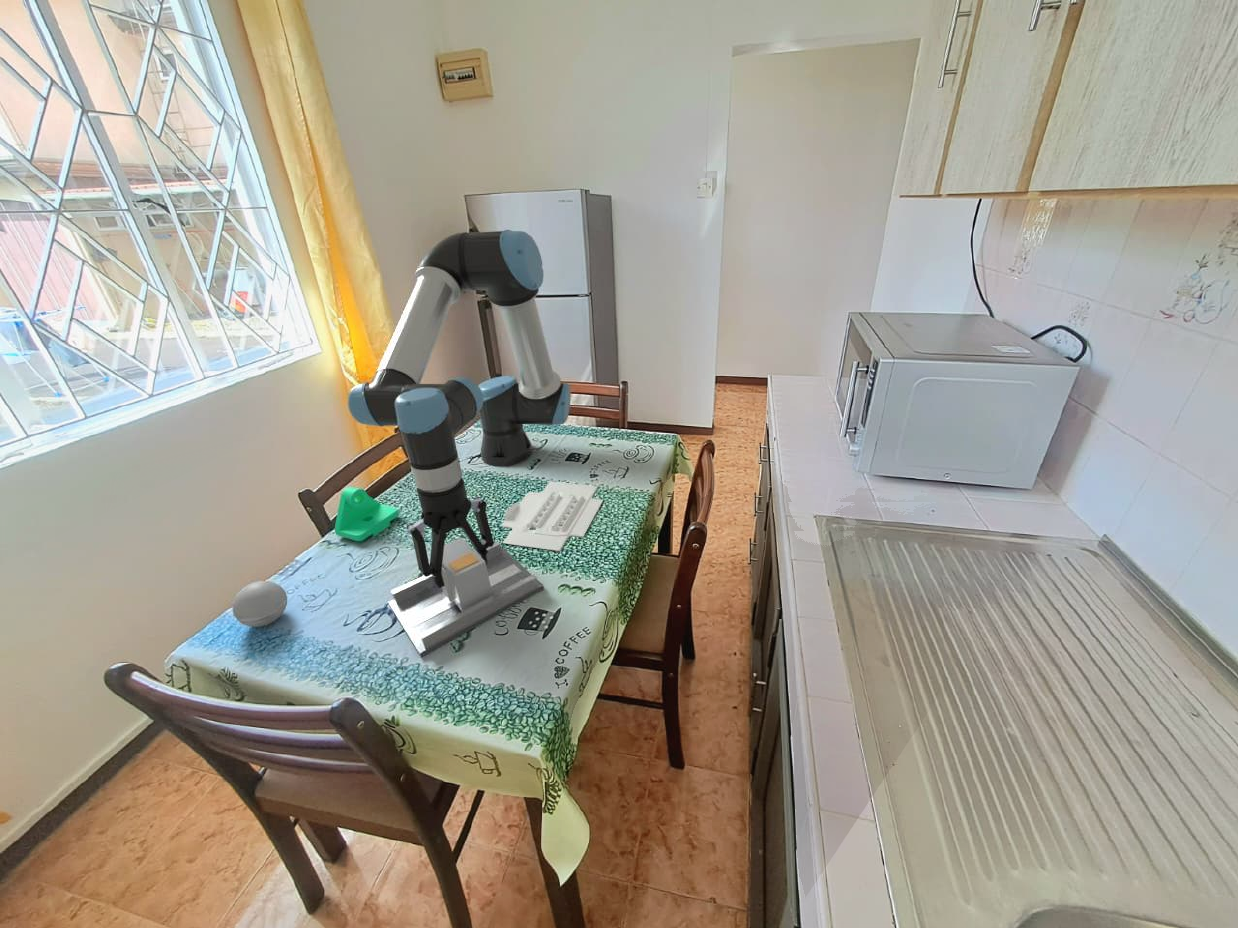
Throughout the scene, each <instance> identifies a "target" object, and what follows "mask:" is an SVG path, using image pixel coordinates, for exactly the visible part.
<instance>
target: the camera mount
mask: <svg viewBox="0 0 1238 928" xmlns="http://www.w3.org/2000/svg"><path fill="white" fill-rule="evenodd" d="M338 504H339V505H338V507H337V508H338V509H337V514H336V520H335V524H334V532H335V535H336V536H338V537H341V538H345V539H347V540H348V539H349V540H353V541H356V542H361V541H365V540H366V539H367V538H369V537H370V536H372V537H376V536H377V535H378V534H380V533H381V532H383V531H384V530H386V529H387V528H389V527H390V526H391V521H393V520H394V519H396V518H397V517H399V515H400V513H399V510H398V509H399V508H397V507H396V506H395V507H394V506H391V505H386V504H381V503H380V502H379V501H377V500H375V499H374V498H373V497H371V496H370V495H369V494H368V493H367V491H366V490H365V489H362V488H358V487H354V486H348V487H345V488H344V489H343V490H342V492H341V494H340V498H339V503H338Z"/></svg>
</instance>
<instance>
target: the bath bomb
mask: <svg viewBox="0 0 1238 928" xmlns="http://www.w3.org/2000/svg"><path fill="white" fill-rule="evenodd" d="M287 605H288V596H287V593H286V591H285V589H284V587H282V586H281V585H280V584H278V583H276V582H274V581H269V580H260V581H259V580H258V581H254V582H250V583H249V584H248V585H245V586H244V587H243V588H241V590H239V591H238V592H237V594H236V595H235V597H234V598H233V603H232V613H233V616H234V617H235V619H236V621H238V622H240V623H241V624H242V625H245V626H246V627H253V628H254V627H255V628H257V627H265V626H267V625H270V624H272V623H273V622H276V621H277V620H278V619H279V618H280V617H281V616H282V615H283V614H284V612H285V610H286V607H287Z"/></svg>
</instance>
